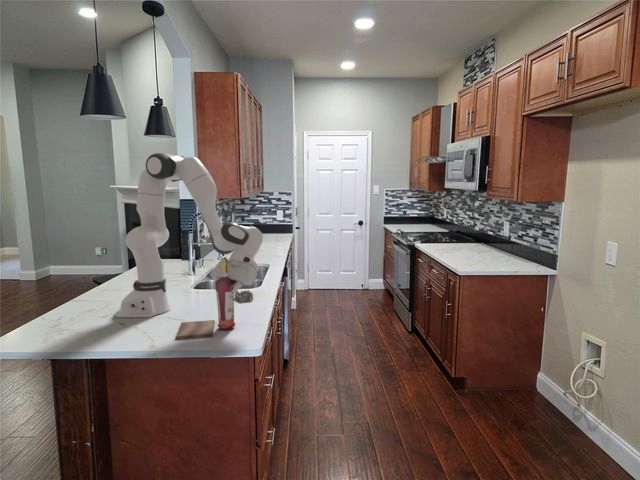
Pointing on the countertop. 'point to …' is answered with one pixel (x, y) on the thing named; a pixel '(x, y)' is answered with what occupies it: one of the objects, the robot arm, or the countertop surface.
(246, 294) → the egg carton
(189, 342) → the countertop surface
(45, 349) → the countertop surface
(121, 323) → the countertop surface
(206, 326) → the serving board
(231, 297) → the liquor
